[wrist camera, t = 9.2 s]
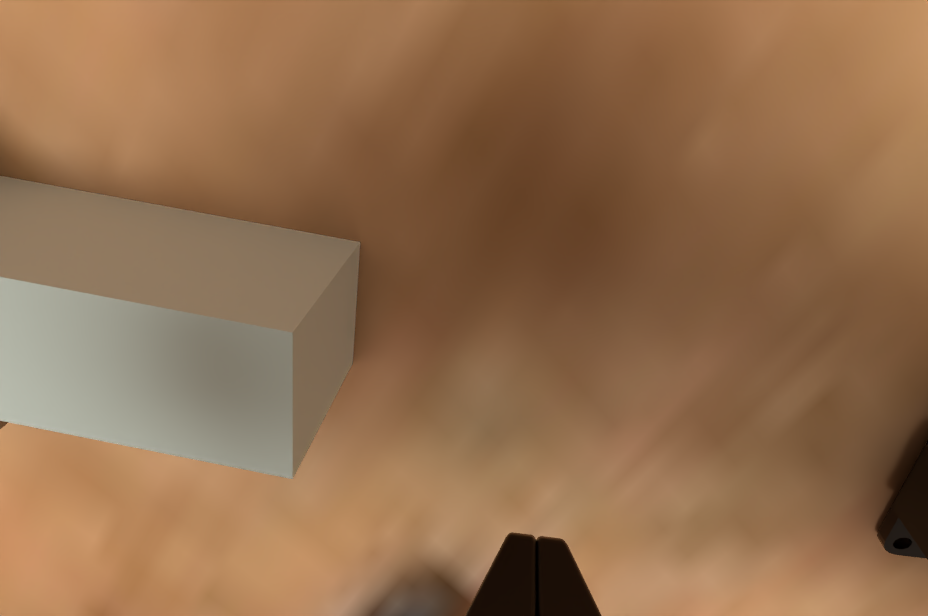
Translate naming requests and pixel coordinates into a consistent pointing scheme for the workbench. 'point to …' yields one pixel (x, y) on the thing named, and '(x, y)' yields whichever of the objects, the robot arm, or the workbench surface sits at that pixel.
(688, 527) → the workbench surface
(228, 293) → the grey rectangular block
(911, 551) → the robot arm
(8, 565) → the workbench surface
